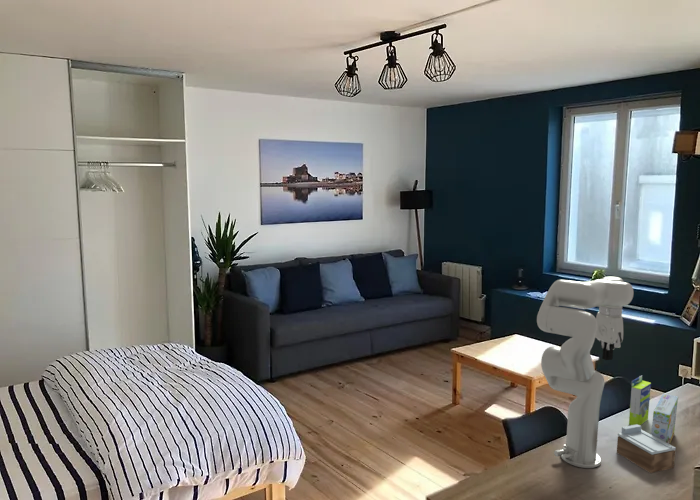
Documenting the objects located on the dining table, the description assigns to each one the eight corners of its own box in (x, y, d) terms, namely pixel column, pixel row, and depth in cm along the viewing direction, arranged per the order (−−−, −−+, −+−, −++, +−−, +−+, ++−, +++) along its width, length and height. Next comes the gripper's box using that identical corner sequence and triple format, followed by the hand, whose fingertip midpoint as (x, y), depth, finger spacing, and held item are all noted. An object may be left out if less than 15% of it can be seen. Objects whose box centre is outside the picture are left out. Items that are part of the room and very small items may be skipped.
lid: (651, 454, 177) (652, 446, 177) (617, 435, 190) (618, 427, 190) (675, 449, 181) (676, 441, 180) (640, 431, 194) (640, 423, 193)
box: (638, 427, 210) (642, 384, 208) (627, 424, 213) (630, 381, 211) (649, 419, 217) (652, 377, 215) (638, 416, 220) (641, 374, 218)
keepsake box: (650, 473, 178) (651, 455, 177) (616, 452, 191) (617, 436, 190) (673, 468, 181) (675, 450, 181) (639, 448, 194) (640, 432, 194)
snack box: (666, 457, 189) (670, 415, 187) (648, 452, 192) (651, 410, 190) (675, 434, 205) (678, 395, 203) (658, 430, 209) (661, 391, 207)
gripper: (587, 306, 207) (584, 353, 210) (617, 317, 193) (614, 367, 195) (604, 305, 209) (601, 351, 212) (634, 315, 195) (631, 364, 198)
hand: (607, 359), depth 204 cm, fingers closed
